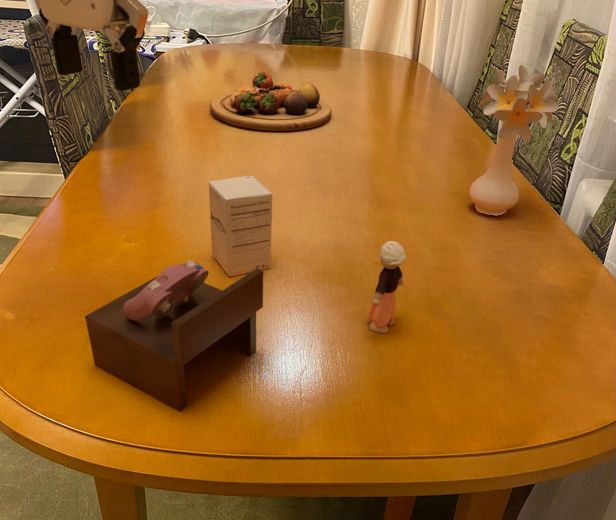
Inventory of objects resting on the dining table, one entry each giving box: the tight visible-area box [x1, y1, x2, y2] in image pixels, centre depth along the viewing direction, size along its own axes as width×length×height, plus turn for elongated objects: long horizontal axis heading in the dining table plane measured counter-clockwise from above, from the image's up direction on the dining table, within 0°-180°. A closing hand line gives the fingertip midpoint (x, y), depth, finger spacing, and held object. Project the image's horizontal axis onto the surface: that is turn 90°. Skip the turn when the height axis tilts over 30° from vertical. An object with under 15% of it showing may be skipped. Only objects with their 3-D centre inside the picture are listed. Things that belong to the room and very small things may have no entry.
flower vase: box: [468, 64, 559, 214], centre depth 109 cm, size 13×18×25 cm
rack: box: [84, 269, 264, 412], centre depth 72 cm, size 15×14×12 cm
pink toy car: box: [123, 259, 210, 321], centre depth 70 cm, size 10×5×7 cm, turn 148°
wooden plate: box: [209, 71, 332, 132], centre depth 158 cm, size 32×32×8 cm
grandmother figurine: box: [367, 240, 407, 334], centre depth 80 cm, size 8×4×13 cm, turn 159°
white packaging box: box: [208, 175, 273, 277], centre depth 92 cm, size 7×7×13 cm
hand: (98, 80), depth 71 cm, fingers open, 9 cm apart
